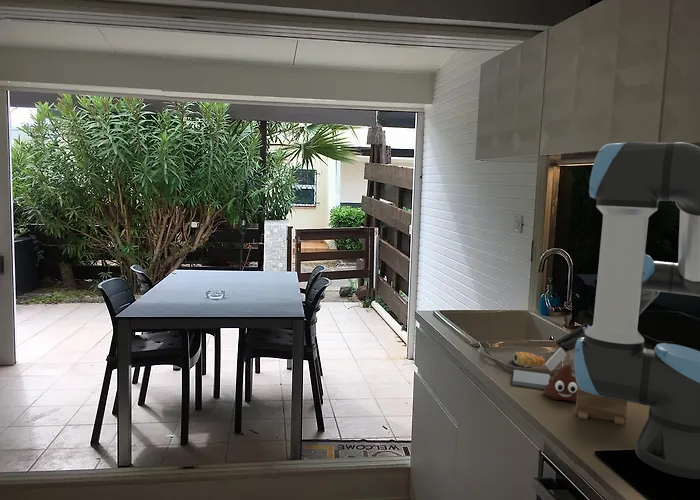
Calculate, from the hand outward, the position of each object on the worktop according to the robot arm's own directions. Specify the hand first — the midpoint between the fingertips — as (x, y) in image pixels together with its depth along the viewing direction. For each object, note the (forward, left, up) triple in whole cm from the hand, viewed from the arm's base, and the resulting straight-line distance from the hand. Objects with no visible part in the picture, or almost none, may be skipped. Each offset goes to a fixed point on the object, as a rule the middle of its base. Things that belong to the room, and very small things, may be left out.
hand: (563, 376), depth 149 cm
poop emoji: (0, 0, -6) cm, 6 cm away
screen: (-11, -8, -6) cm, 15 cm away
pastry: (+26, +9, -6) cm, 29 cm away
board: (+9, +8, -6) cm, 14 cm away
